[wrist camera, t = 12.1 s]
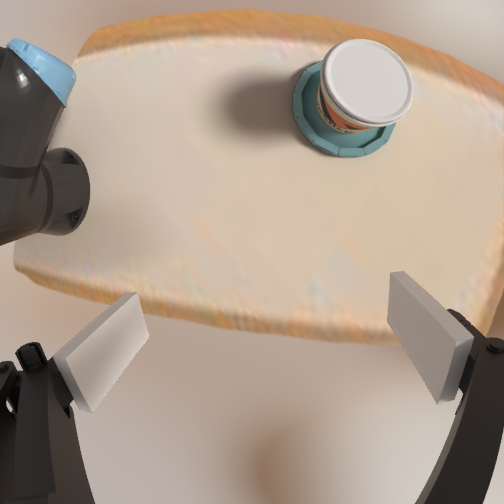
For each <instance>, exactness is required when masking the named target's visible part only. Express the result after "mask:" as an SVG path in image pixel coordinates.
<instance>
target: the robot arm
mask: <svg viewBox="0 0 504 504" xmlns="http://www.w3.org/2000/svg"><path fill="white" fill-rule="evenodd" d="M75 81H76V74H75V72H74V70H73V69H72V68H71V67H70V66H69V65H68V64H66V63H65V62H63V61H62V60H60V59H58V58H57V57H55V56H53V55H52V54H50V53H48V52H46V51H44V50H42V49H41V48H39V47H36V46H33V45H32V44H29V43H27V42H26V41H23V40H21V39H17V38H14V39H12V40H11V41H10V42H9V43H8V44H7V47H6V48H3V47H0V246H1V245H4V244H6V243H9V242H12V241H14V240H17V239H20V238H23V237H26V236H29V235H31V234H34V233H38V232H39V233H45V234H51V235H66V234H69V233H71V232H73V231H74V230H75V229H77V228H78V226H79V225H80V224H81V223H82V221H83V219H84V217H85V215H86V212H87V209H88V205H89V200H90V182H89V176H88V172H87V169H86V167H85V164H84V163H83V161H82V159H81V158H80V157H79V155H78V154H76V153H75V152H74V151H72V150H70V149H67V148H56V149H52V150H50V151H48V152H46V150H47V148H48V145H49V142H50V140H51V137H52V135H53V132H54V130H55V128H56V125H57V123H58V121H59V118H60V116H61V114H62V112H63V110H64V108H66V106H67V100H68V97H69V95H70V93H71V91H72V88H73V86H74V84H75ZM387 322H388V324H389V325H390V327H391V328H392V330H393V332H394V333H395V335H396V336H397V338H398V339H399V341H400V343H401V344H402V346H403V347H404V349H405V350H406V352H407V354H408V355H409V357H410V359H411V360H412V362H413V364H414V365H415V367H416V369H417V370H418V372H419V374H420V375H421V377H422V379H423V380H424V382H425V384H426V386H427V387H428V389H429V391H430V393H431V395H432V396H433V398H434V400H435V401H436V403H437V405H439V404H442V403H445V402H449V401H451V400H454V399H455V396H456V394H457V391H458V388H460V390H461V391H462V393H463V396H462V399H461V401H460V404H459V406H458V408H457V411H456V413H455V415H456V416H455V419H454V422H453V425H452V427H451V430H450V433H449V435H448V437H447V440H446V442H445V445H444V447H443V450H442V452H441V454H440V456H439V459H438V461H437V463H436V465H435V467H434V469H433V471H432V473H431V475H430V477H429V479H428V481H427V483H426V485H425V487H424V489H423V491H422V492H421V494H420V496H419V498H418V499H417V501H416V503H415V504H483V501H484V499H485V495H486V493H487V490H488V487H489V484H490V481H491V478H492V475H493V471H494V468H495V464H496V460H497V456H498V452H499V447H500V443H501V439H502V434H503V429H504V340H502V339H499V338H486V337H485V336H484V335H482V334H481V333H480V332H479V331H478V330H477V329H476V328H475V327H474V326H473V325H471V323H470V322H469V321H468V320H466V318H465V317H463V316H462V315H461V314H460V313H458V312H456V311H454V310H452V309H447V310H446V309H445V308H444V307H443V306H442V305H441V304H440V303H439V302H438V301H437V300H435V299H434V298H433V297H432V296H431V295H430V294H429V293H428V292H427V291H426V290H424V289H423V288H422V287H421V286H420V285H419V284H418V283H417V282H415V281H414V280H413V279H412V278H411V277H410V276H409V275H407V274H406V273H405V272H404V271H400V272H392V273H390V287H389V304H388V317H387ZM148 338H149V333H148V330H147V327H146V323H145V320H144V316H143V312H142V308H141V305H140V301H139V297H138V293H137V292H134V293H125V294H124V295H123V296H121V297H120V298H119V299H118V300H117V301H115V302H114V303H113V304H112V305H111V306H110V307H108V308H107V309H106V310H105V311H104V312H103V313H101V314H100V315H99V316H98V317H97V318H95V319H94V320H93V321H92V322H91V323H90V324H89V325H87V326H86V327H85V328H84V329H83V330H82V331H80V332H79V333H78V334H77V335H76V336H75V337H74V338H72V339H71V340H70V341H69V342H68V343H67V344H66V345H65V346H64V347H63V348H61V349H60V350H59V351H58V352H57V353H56V354H55V355H54V356H53V357H52V358H51V359H50V360H48V361H47V359H46V356H45V354H44V352H43V349H42V347H41V345H40V343H38V342H32V343H28V344H25V345H23V346H21V347H20V348H19V349H18V350H17V351H16V353H15V354H16V356H17V358H18V360H19V362H20V365H21V367H22V368H23V371H17V369H16V367H15V365H14V363H13V362H12V361H5V362H4V361H3V362H1V363H0V504H95V502H94V499H93V495H92V492H91V489H90V486H89V482H88V479H87V475H86V471H85V468H84V463H83V459H82V455H81V451H80V446H79V441H78V437H77V431H76V425H75V419H74V413H73V409H72V407H71V406H70V403H71V402H72V401H73V399H74V401H75V402H76V404H77V406H78V408H79V410H83V411H87V412H91V413H93V412H94V410H95V409H96V408H97V406H98V405H99V404H100V402H101V401H102V399H103V398H104V397H105V395H106V394H107V393H108V391H109V390H110V389H111V387H112V386H113V384H114V383H115V382H116V380H117V379H118V378H119V376H120V375H121V374H122V372H123V371H124V370H125V368H126V367H127V366H128V364H129V363H130V362H131V360H132V359H133V358H134V356H135V355H136V354H137V352H138V351H139V350H140V348H141V347H142V346H143V344H144V343H145V342H146V340H147V339H148ZM6 401H8V402H9V404H10V406H11V407H12V409H13V410H12V412H10V411H9V410H8V408H7V406H6Z"/></svg>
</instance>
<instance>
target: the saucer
mask: <svg viewBox="0 0 504 504" xmlns="http://www.w3.org/2000/svg"><path fill="white" fill-rule="evenodd" d="M322 62H323V60H322V61H320V62H318V63H316V64H314V65H312V66H310V67H309V68H307V69H306V70H304V72H303V74H302V75H301V77H300V78H299V80H298V81H297V84H296V86H295V89H294V91H293V100H292V108H293V114H294V117H295V120H296V123H297V125H298V127H299V129H300V130H301V132H302V133H303V134H304V136H305V137H306V138H307V139H308V140H309V141H310V142H311V143H312V144H313V145H315V146H316V147H317V148H319V149H320V150H322V151H324V152H326V153H328V154H331V155H334V156H338V157H343V158H356V157H361V156H365V155H368V154H370V153H372V152H374V151H376V150H377V149H379V148H380V147H381V146H382V145H384V144H386V142H388V140H389V138H390V135H391V133H392V131H393V129H394V126H395V124H396V123H393V124H391V125H388V126H383V127H377V128H373V129H369V130H366V131H362V132H358V133H352V134H347V133H341V132H338V131H336V130H334V129H332V128H331V127H329V126H328V125H327V124H326V123H325V122H324V121H323V119H322V118H321V116H320V114H319V112H318V107H317V95H318V89H319V82H320V70H321V65H322Z"/></svg>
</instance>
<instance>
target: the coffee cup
mask: <svg viewBox="0 0 504 504" xmlns="http://www.w3.org/2000/svg"><path fill="white" fill-rule="evenodd" d="M412 100H413V82H412V78H411V75H410V73H409V70H408V69H407V67H406V65H405V64H404V62H403V61H402V60H401V59H400V57H399V56H398V55H397V54H396V53H394V52H393V51H392V50H390V49H389V48H388V47H386V46H384V45H382V44H380V43H378V42H375V41H371V40H366V39H353V40H347V41H344V42H341V43H339V44H337V45H335V46H334V47H333V48H332V49H330V50H329V52H328V53H327V54H326V56H325V57H324V59H323V62H322V65H321V70H320V82H319V89H318V95H317V107H318V112H319V114H320V116H321V118H322V119H323V121H324V122H325V123H326V124H327V125H328V126H329V127H331V128H332V129H334V130H336V131H338V132H341V133H347V134H352V133H358V132H362V131H366V130H369V129H373V128H377V127H383V126H388V125H391V124H393V123H396V122H397V121H399V120H400V119H401V118H402V117H404V115H405V114H406V113H407V112H408V110H409V108H410V106H411V103H412Z"/></svg>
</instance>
